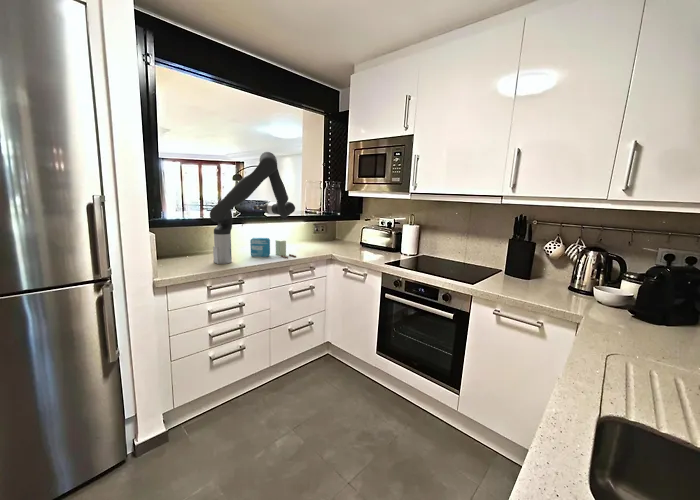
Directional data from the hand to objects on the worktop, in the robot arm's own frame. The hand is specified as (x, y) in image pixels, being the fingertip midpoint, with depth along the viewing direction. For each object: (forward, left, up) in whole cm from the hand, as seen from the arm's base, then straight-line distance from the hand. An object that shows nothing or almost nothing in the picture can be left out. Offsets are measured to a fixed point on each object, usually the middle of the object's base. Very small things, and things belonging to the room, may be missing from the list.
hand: (259, 207), depth 211 cm
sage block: (+8, -13, -32) cm, 35 cm away
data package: (-5, -9, -32) cm, 34 cm away
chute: (+8, -22, -32) cm, 40 cm away
